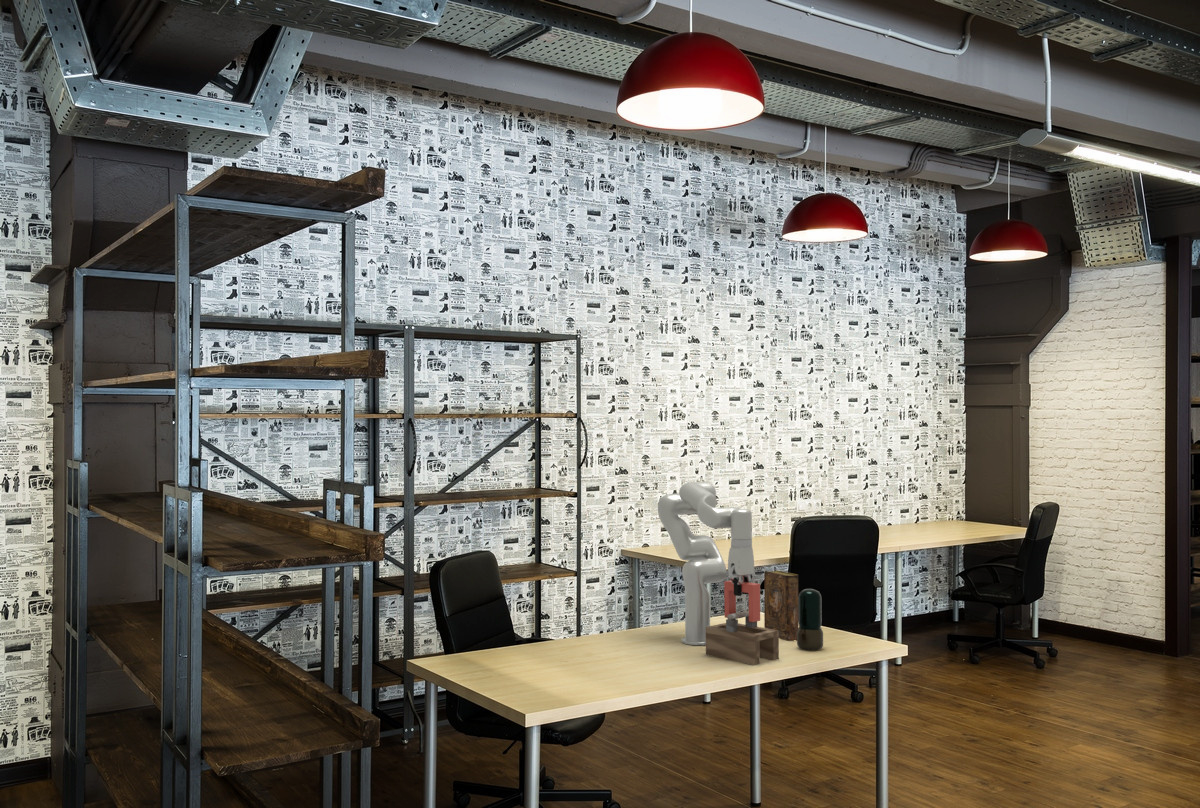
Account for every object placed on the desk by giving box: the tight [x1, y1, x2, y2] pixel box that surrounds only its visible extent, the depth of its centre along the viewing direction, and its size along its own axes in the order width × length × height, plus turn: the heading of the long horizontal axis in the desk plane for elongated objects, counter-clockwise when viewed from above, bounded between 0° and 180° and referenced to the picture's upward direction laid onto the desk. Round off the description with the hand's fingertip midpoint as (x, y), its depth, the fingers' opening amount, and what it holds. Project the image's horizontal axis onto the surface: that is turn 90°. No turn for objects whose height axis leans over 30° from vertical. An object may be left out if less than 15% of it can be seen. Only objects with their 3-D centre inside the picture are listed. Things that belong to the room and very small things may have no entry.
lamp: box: [796, 588, 824, 651], centre depth 371 cm, size 10×10×22 cm
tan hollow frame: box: [705, 610, 780, 666], centre depth 357 cm, size 14×22×16 cm, turn 43°
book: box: [763, 569, 799, 642], centre depth 392 cm, size 16×6×25 cm, turn 25°
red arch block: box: [723, 579, 761, 622], centre depth 357 cm, size 4×13×13 cm, turn 43°
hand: (741, 594), depth 358 cm, fingers closed on red arch block, 4 cm apart
